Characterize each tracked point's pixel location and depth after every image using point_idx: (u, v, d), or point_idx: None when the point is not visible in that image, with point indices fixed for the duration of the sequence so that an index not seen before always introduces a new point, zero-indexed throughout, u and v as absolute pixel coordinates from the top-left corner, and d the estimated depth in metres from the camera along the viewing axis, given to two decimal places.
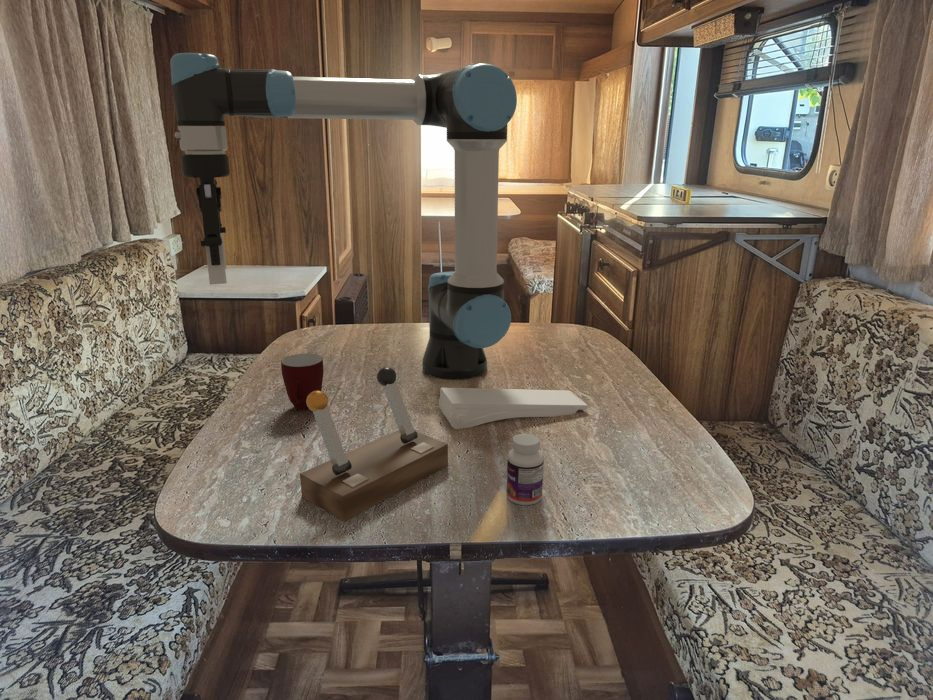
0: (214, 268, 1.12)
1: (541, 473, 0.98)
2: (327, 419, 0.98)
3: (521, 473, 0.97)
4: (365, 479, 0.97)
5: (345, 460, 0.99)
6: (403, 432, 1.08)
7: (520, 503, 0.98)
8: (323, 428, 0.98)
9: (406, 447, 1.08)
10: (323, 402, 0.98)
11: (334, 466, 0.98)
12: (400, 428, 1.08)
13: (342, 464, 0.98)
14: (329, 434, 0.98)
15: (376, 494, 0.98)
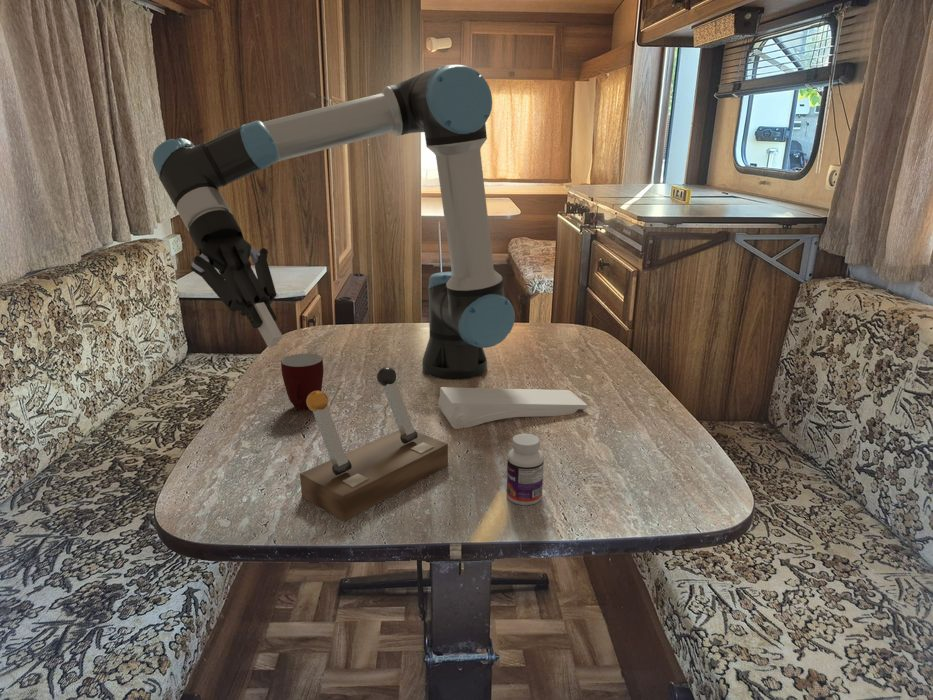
0: (262, 329, 1.03)
1: (541, 473, 0.98)
2: (327, 419, 0.98)
3: (521, 473, 0.97)
4: (365, 479, 0.97)
5: (345, 460, 0.99)
6: (403, 432, 1.08)
7: (520, 503, 0.98)
8: (323, 428, 0.98)
9: (406, 447, 1.08)
10: (323, 402, 0.98)
11: (334, 466, 0.98)
12: (400, 428, 1.08)
13: (342, 464, 0.98)
14: (329, 434, 0.98)
15: (376, 494, 0.98)
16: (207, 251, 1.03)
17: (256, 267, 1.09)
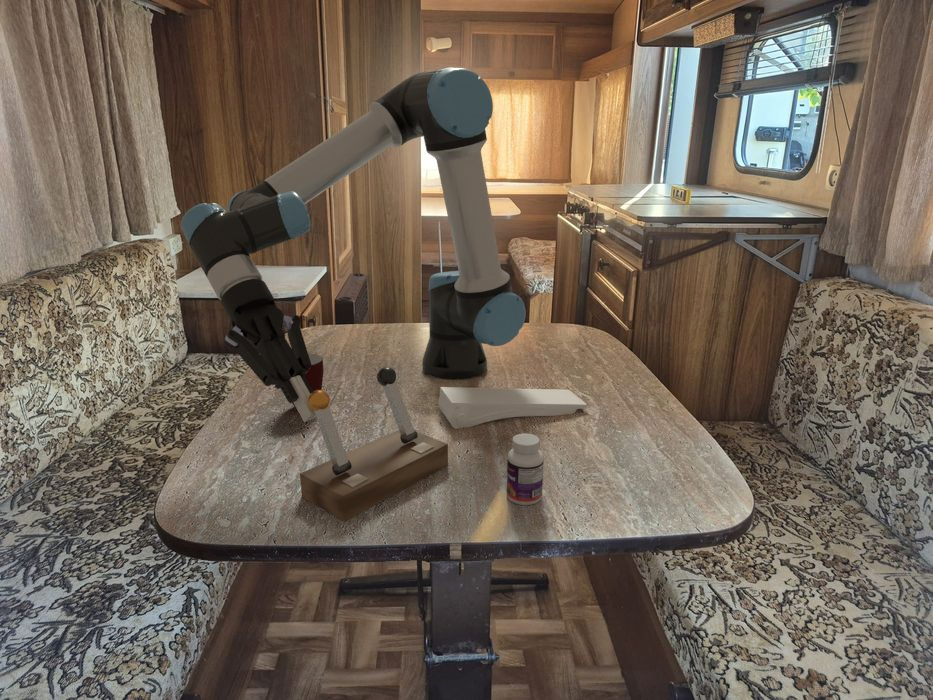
0: (298, 404, 1.00)
1: (541, 473, 0.98)
2: (328, 419, 0.98)
3: (521, 473, 0.97)
4: (365, 479, 0.97)
5: (345, 460, 0.99)
6: (403, 432, 1.08)
7: (520, 503, 0.98)
8: (324, 428, 0.98)
9: (406, 447, 1.08)
10: (325, 402, 0.98)
11: (334, 466, 0.98)
12: (400, 428, 1.08)
13: (342, 464, 0.98)
14: (330, 434, 0.98)
15: (376, 494, 0.98)
16: (240, 323, 1.00)
17: (289, 335, 1.06)
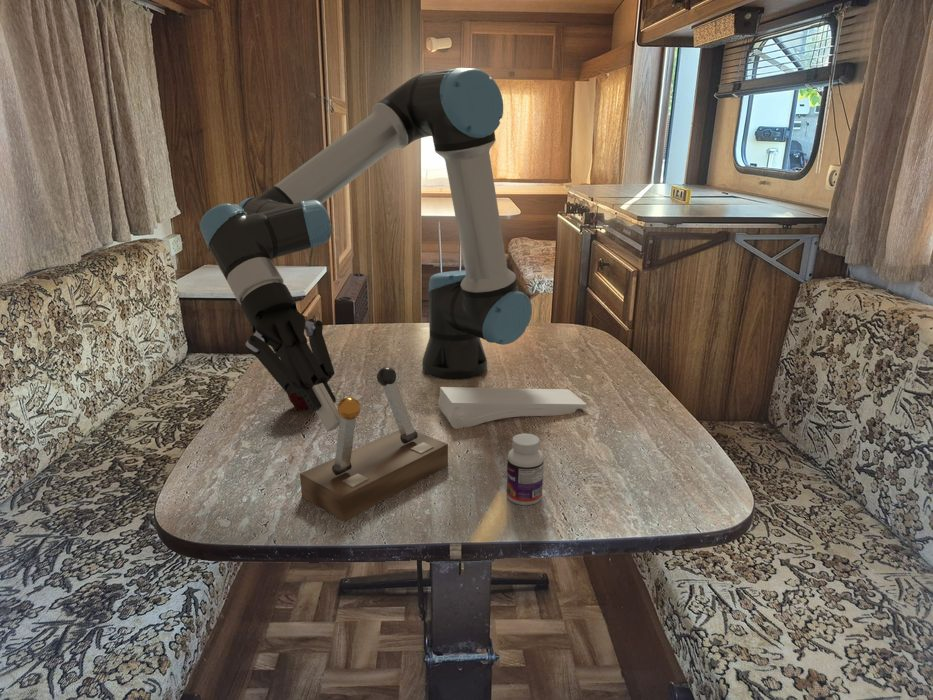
0: (321, 413, 0.96)
1: (541, 473, 0.98)
2: (350, 428, 0.95)
3: (521, 473, 0.97)
4: (365, 479, 0.97)
5: (348, 464, 0.98)
6: (403, 432, 1.08)
7: (520, 503, 0.98)
8: (343, 435, 0.95)
9: (406, 447, 1.08)
10: (355, 416, 0.93)
11: (336, 467, 0.98)
12: (400, 428, 1.08)
13: (344, 468, 0.98)
14: (345, 442, 0.96)
15: (376, 494, 0.98)
16: (262, 329, 0.97)
17: (311, 341, 1.03)
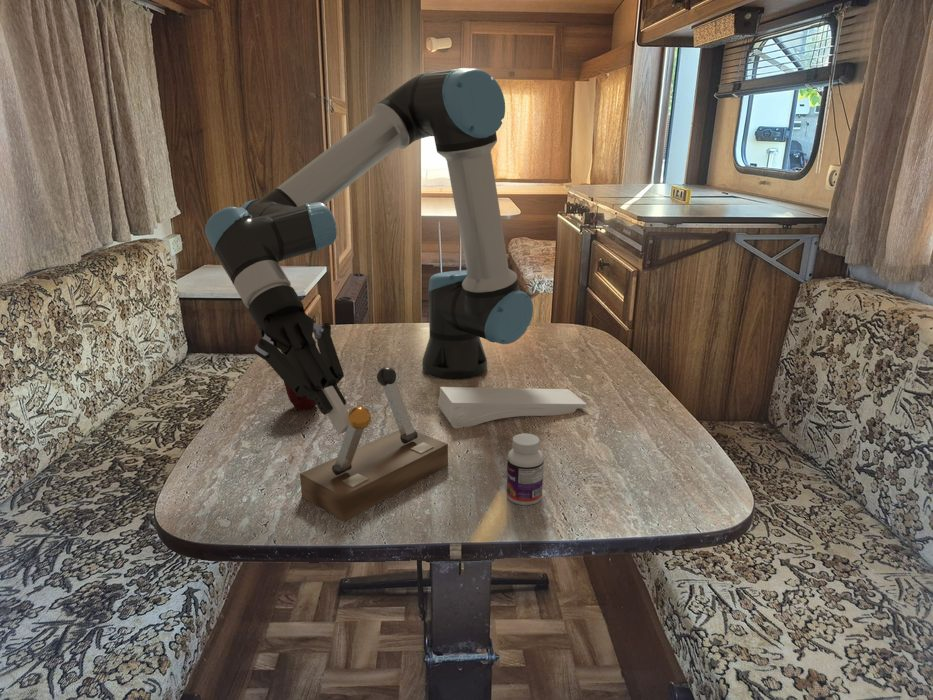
0: (332, 415, 0.96)
1: (541, 473, 0.98)
2: (357, 436, 0.94)
3: (521, 473, 0.97)
4: (365, 479, 0.97)
5: (348, 465, 0.98)
6: (403, 432, 1.08)
7: (520, 503, 0.98)
8: (349, 442, 0.94)
9: (406, 447, 1.08)
10: (364, 427, 0.93)
11: (336, 468, 0.97)
12: (400, 428, 1.08)
13: (344, 469, 0.98)
14: (350, 447, 0.95)
15: (376, 494, 0.98)
16: (270, 332, 0.96)
17: (319, 344, 1.02)
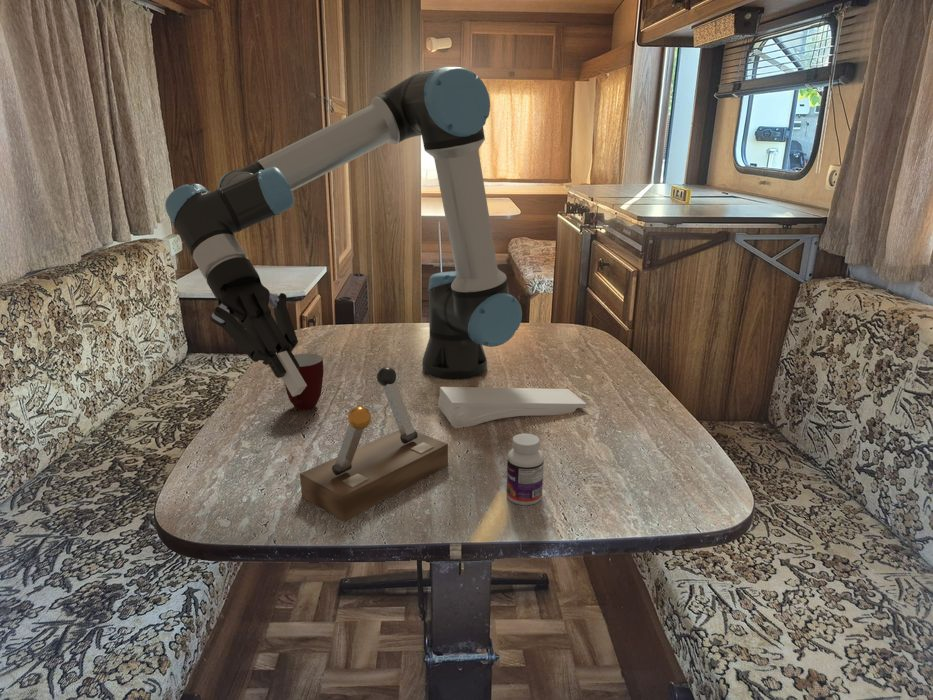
0: (286, 379, 1.01)
1: (541, 473, 0.98)
2: (357, 436, 0.94)
3: (521, 473, 0.97)
4: (365, 479, 0.97)
5: (348, 465, 0.98)
6: (403, 432, 1.08)
7: (520, 503, 0.98)
8: (349, 442, 0.94)
9: (406, 447, 1.08)
10: (364, 427, 0.93)
11: (336, 468, 0.97)
12: (400, 428, 1.08)
13: (344, 469, 0.98)
14: (350, 447, 0.95)
15: (376, 494, 0.98)
16: (227, 301, 1.02)
17: (275, 313, 1.08)
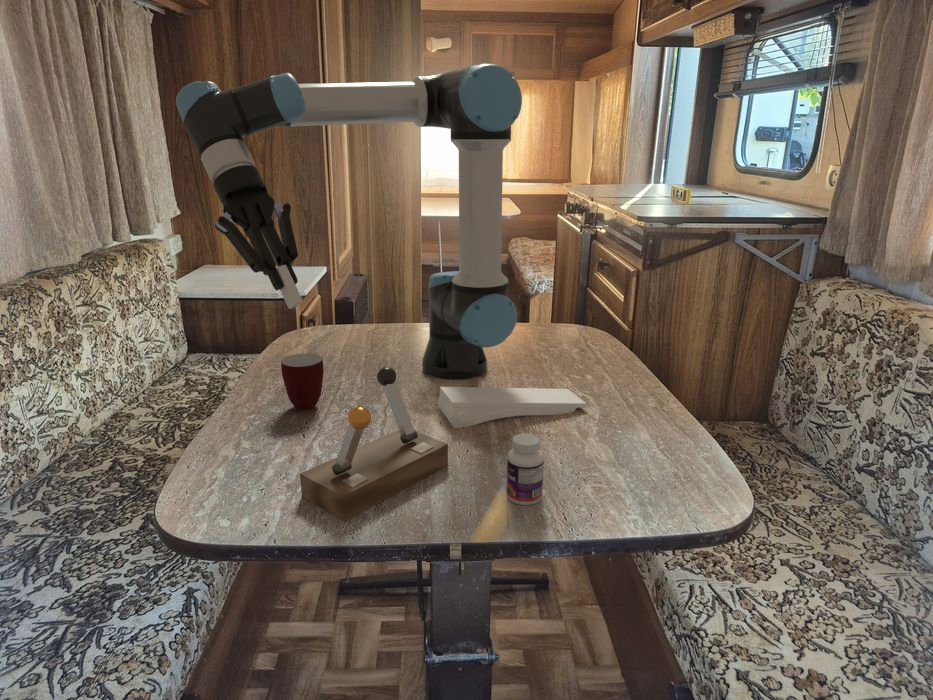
0: (284, 292, 1.07)
1: (541, 473, 0.98)
2: (357, 436, 0.94)
3: (521, 473, 0.97)
4: (365, 479, 0.97)
5: (348, 465, 0.98)
6: (403, 432, 1.08)
7: (520, 503, 0.98)
8: (349, 442, 0.94)
9: (406, 447, 1.08)
10: (364, 427, 0.93)
11: (336, 468, 0.97)
12: (400, 428, 1.08)
13: (344, 469, 0.98)
14: (350, 447, 0.95)
15: (376, 494, 0.98)
16: (231, 210, 1.04)
17: (279, 223, 1.10)
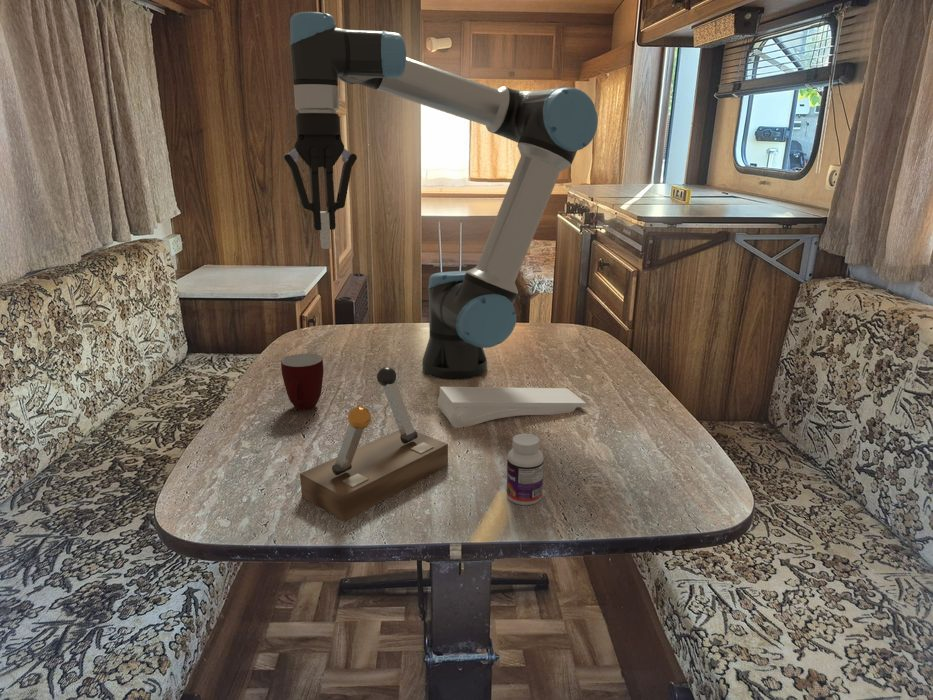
0: (320, 233, 1.22)
1: (541, 473, 0.98)
2: (357, 436, 0.94)
3: (521, 473, 0.97)
4: (365, 479, 0.97)
5: (348, 465, 0.98)
6: (403, 432, 1.08)
7: (520, 503, 0.98)
8: (349, 442, 0.94)
9: (406, 447, 1.08)
10: (364, 427, 0.93)
11: (336, 468, 0.97)
12: (400, 428, 1.08)
13: (344, 469, 0.98)
14: (350, 447, 0.95)
15: (376, 494, 0.98)
16: (299, 149, 1.15)
17: (343, 167, 1.20)
